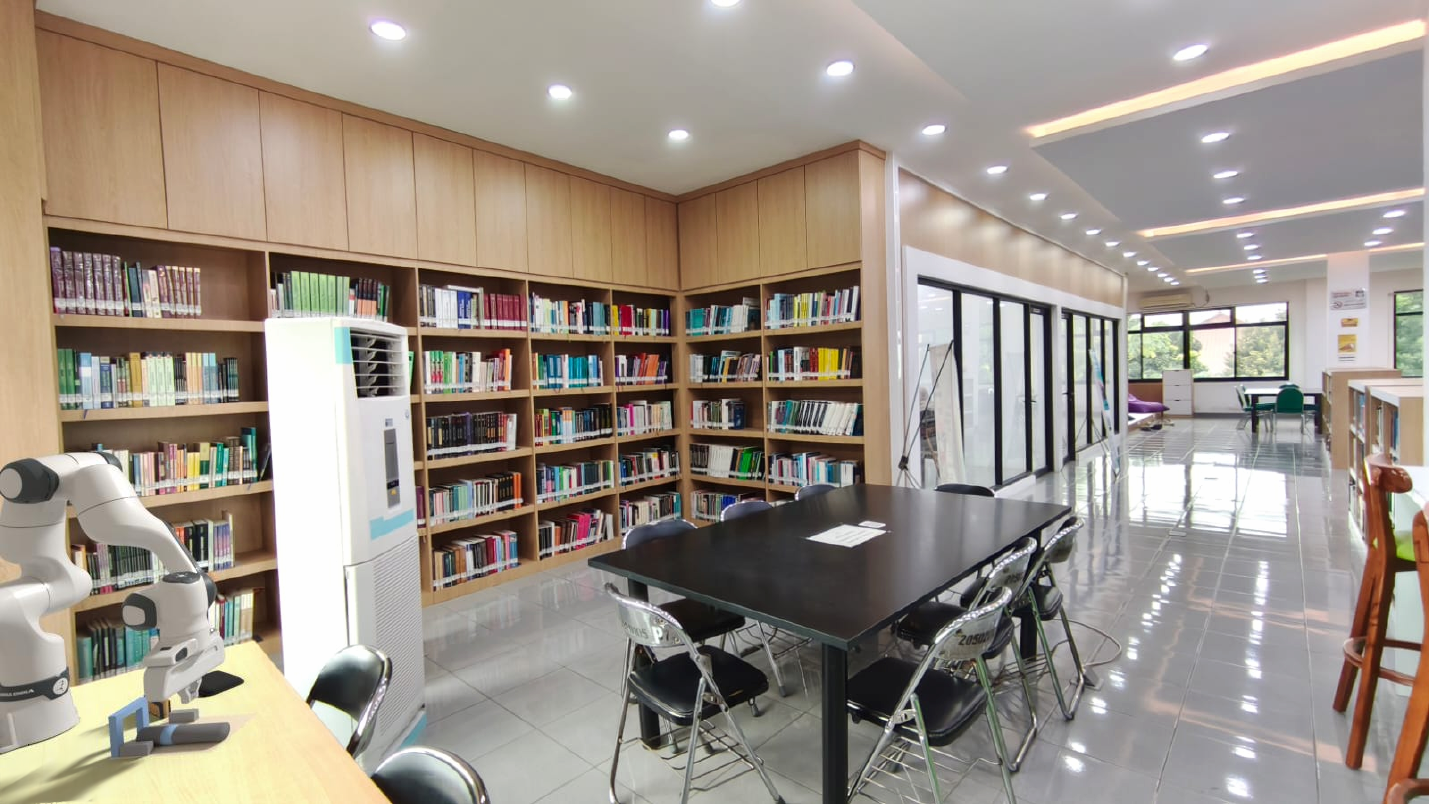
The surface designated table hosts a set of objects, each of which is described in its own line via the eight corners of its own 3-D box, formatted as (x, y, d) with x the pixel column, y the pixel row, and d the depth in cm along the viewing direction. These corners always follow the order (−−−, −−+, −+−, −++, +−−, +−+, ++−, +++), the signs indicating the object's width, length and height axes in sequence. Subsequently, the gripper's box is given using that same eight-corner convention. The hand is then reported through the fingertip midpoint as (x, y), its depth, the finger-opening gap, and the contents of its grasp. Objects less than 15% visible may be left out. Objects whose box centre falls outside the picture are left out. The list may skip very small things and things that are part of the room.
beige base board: (108, 763, 141) (107, 748, 141) (167, 723, 157) (166, 709, 157) (211, 756, 143) (210, 741, 142) (259, 717, 159) (258, 703, 159)
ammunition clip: (172, 720, 159) (168, 673, 159) (163, 723, 157) (159, 677, 157) (153, 710, 164) (150, 665, 164) (144, 713, 163) (141, 668, 162)
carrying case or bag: (174, 694, 173) (203, 705, 167) (173, 683, 173) (202, 694, 167) (219, 677, 183) (247, 687, 176) (218, 667, 183) (246, 676, 176)
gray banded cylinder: (135, 750, 144) (135, 731, 144) (149, 741, 148) (150, 723, 148) (217, 744, 145) (218, 726, 145) (230, 736, 149) (230, 718, 150)
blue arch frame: (111, 758, 141) (108, 716, 141) (142, 736, 150) (140, 697, 150) (118, 757, 142) (115, 716, 141) (150, 735, 150) (147, 696, 150)
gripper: (204, 625, 156) (208, 680, 156) (135, 663, 135) (139, 725, 136) (231, 624, 156) (234, 678, 157) (166, 661, 136) (170, 723, 137)
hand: (189, 700), depth 146 cm, fingers closed
